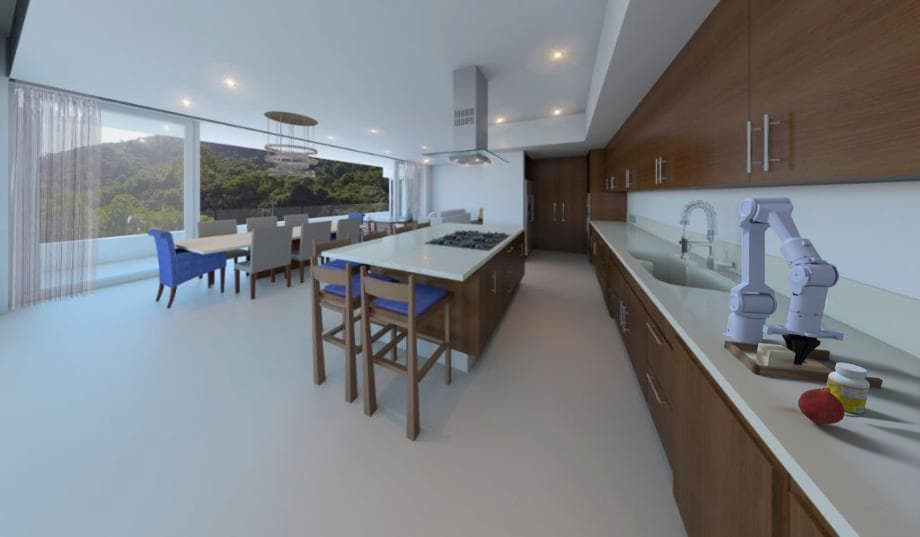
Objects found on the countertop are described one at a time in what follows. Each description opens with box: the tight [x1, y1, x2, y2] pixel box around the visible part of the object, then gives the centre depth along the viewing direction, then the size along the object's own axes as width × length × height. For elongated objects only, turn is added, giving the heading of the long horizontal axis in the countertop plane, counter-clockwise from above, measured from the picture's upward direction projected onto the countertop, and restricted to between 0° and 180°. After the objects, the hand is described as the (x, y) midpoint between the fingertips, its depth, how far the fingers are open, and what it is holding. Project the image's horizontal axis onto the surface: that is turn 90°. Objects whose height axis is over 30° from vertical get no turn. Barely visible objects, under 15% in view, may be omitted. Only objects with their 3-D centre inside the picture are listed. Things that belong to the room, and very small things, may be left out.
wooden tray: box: [723, 340, 883, 389], centre depth 82 cm, size 16×23×3 cm
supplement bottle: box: [825, 362, 871, 418], centre depth 65 cm, size 5×5×10 cm
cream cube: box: [756, 342, 795, 369], centre depth 81 cm, size 5×5×5 cm
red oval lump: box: [797, 386, 845, 426], centre depth 61 cm, size 6×6×8 cm
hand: (795, 363), depth 80 cm, fingers closed
